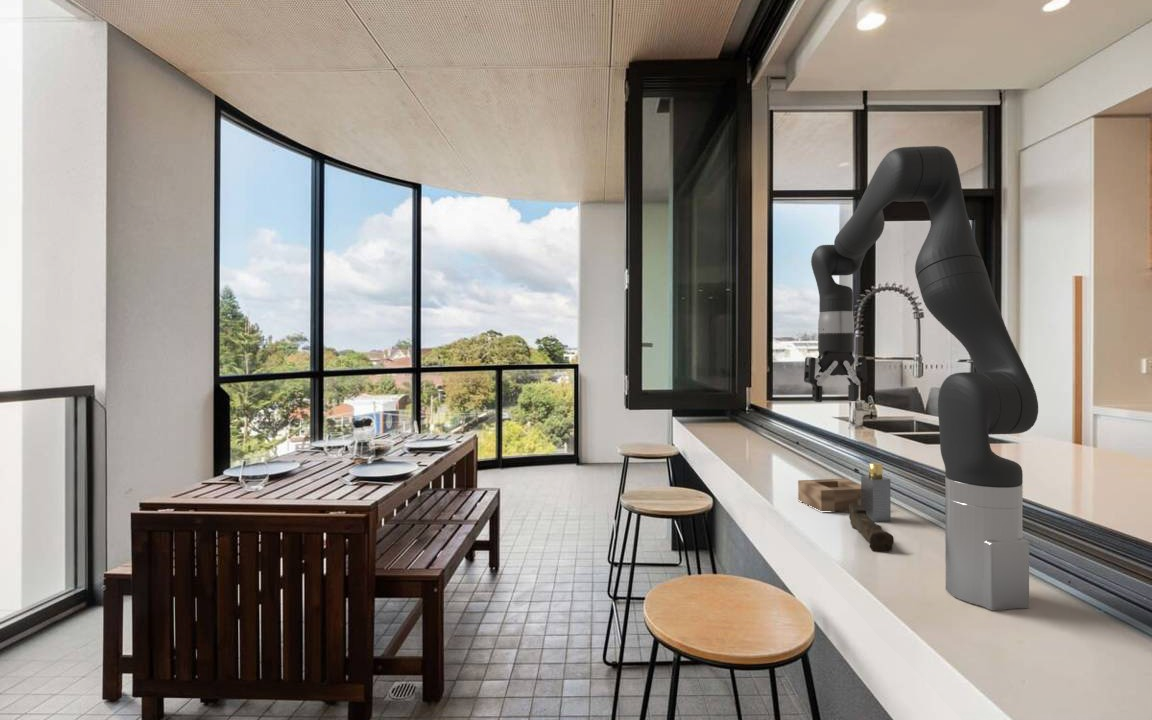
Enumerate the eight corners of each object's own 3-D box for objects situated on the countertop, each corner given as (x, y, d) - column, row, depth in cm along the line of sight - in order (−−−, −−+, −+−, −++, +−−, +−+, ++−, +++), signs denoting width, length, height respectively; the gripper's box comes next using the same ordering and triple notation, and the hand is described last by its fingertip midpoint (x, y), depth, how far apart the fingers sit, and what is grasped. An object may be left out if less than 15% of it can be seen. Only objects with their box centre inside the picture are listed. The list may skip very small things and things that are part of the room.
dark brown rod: (894, 554, 100) (894, 529, 100) (870, 553, 101) (870, 527, 101) (865, 523, 118) (865, 501, 118) (845, 522, 119) (845, 500, 119)
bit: (890, 521, 118) (890, 465, 118) (873, 522, 118) (872, 465, 118) (878, 515, 122) (878, 461, 122) (861, 516, 122) (861, 462, 122)
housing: (870, 510, 126) (870, 488, 126) (821, 512, 125) (821, 490, 125) (844, 498, 136) (844, 478, 136) (798, 500, 135) (798, 480, 135)
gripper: (815, 331, 123) (815, 404, 124) (875, 331, 125) (874, 402, 126) (798, 332, 131) (798, 400, 131) (854, 331, 132) (854, 399, 133)
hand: (835, 401), depth 128 cm, fingers open, 8 cm apart
